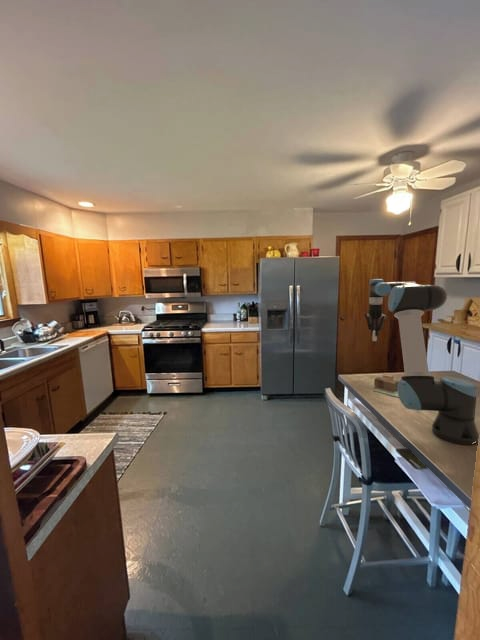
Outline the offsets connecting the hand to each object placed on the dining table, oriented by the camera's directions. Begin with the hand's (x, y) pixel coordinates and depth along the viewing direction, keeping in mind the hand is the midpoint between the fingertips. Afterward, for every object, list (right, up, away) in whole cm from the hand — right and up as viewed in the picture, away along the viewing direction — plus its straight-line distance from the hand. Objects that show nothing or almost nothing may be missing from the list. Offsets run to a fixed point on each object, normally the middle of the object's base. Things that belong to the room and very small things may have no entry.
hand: (374, 340), depth 179 cm
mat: (+1, -27, -18) cm, 33 cm away
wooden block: (-5, -23, -12) cm, 27 cm away
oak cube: (+6, -25, -5) cm, 27 cm away
